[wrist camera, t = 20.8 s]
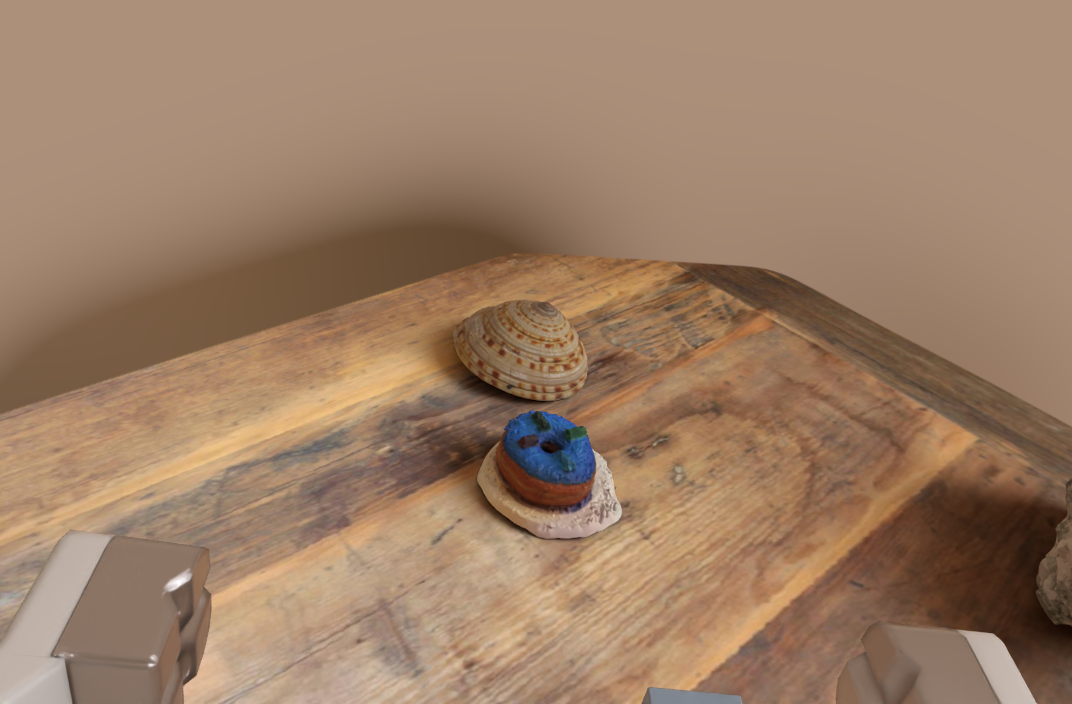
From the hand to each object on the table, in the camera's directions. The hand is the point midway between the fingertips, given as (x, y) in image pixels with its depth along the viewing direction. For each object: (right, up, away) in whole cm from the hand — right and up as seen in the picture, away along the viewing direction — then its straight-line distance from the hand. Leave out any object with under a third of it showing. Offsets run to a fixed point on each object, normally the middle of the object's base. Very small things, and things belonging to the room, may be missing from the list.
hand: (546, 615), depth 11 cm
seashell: (-1, +2, +45) cm, 46 cm away
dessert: (+1, -4, +37) cm, 37 cm away
